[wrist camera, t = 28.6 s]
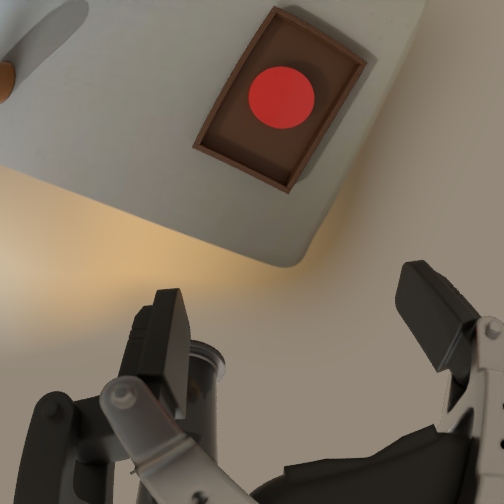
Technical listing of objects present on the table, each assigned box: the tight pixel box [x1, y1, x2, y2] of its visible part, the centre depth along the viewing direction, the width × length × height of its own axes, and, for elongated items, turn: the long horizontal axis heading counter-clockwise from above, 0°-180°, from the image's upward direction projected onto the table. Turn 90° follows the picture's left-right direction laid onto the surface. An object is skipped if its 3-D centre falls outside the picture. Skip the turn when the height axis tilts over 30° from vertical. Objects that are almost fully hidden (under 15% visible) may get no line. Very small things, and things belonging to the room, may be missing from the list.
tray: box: [192, 6, 367, 194], centre depth 27 cm, size 17×11×2 cm, turn 152°
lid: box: [248, 66, 314, 129], centre depth 27 cm, size 6×6×2 cm
